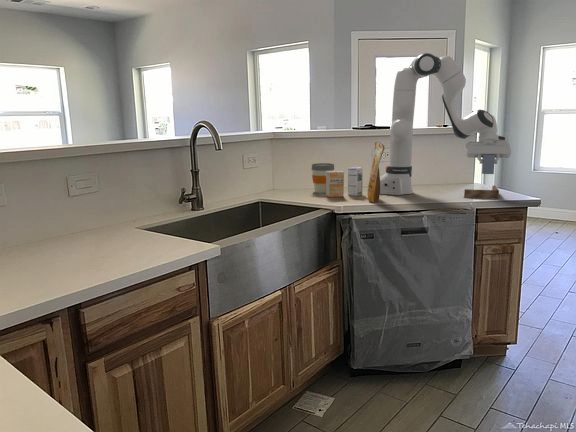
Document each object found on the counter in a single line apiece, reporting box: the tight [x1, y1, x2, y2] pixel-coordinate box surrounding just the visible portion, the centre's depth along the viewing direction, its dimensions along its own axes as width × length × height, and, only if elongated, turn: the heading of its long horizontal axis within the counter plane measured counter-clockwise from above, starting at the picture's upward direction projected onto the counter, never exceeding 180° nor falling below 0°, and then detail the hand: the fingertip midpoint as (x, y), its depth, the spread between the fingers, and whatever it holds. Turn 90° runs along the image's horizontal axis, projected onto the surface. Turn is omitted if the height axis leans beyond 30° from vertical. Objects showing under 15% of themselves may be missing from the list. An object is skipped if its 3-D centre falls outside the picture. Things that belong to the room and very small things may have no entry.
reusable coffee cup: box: [311, 162, 335, 194], centre depth 250 cm, size 13×13×15 cm
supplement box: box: [325, 170, 345, 198], centre depth 234 cm, size 8×5×13 cm, turn 105°
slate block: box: [481, 155, 496, 175], centre depth 225 cm, size 5×5×9 cm
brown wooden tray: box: [463, 185, 500, 200], centre depth 231 cm, size 16×17×4 cm
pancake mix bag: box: [367, 141, 385, 203], centre depth 221 cm, size 7×19×28 cm, turn 173°
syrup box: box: [347, 166, 363, 197], centre depth 238 cm, size 6×6×14 cm
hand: (488, 163), depth 224 cm, fingers closed on slate block, 5 cm apart
